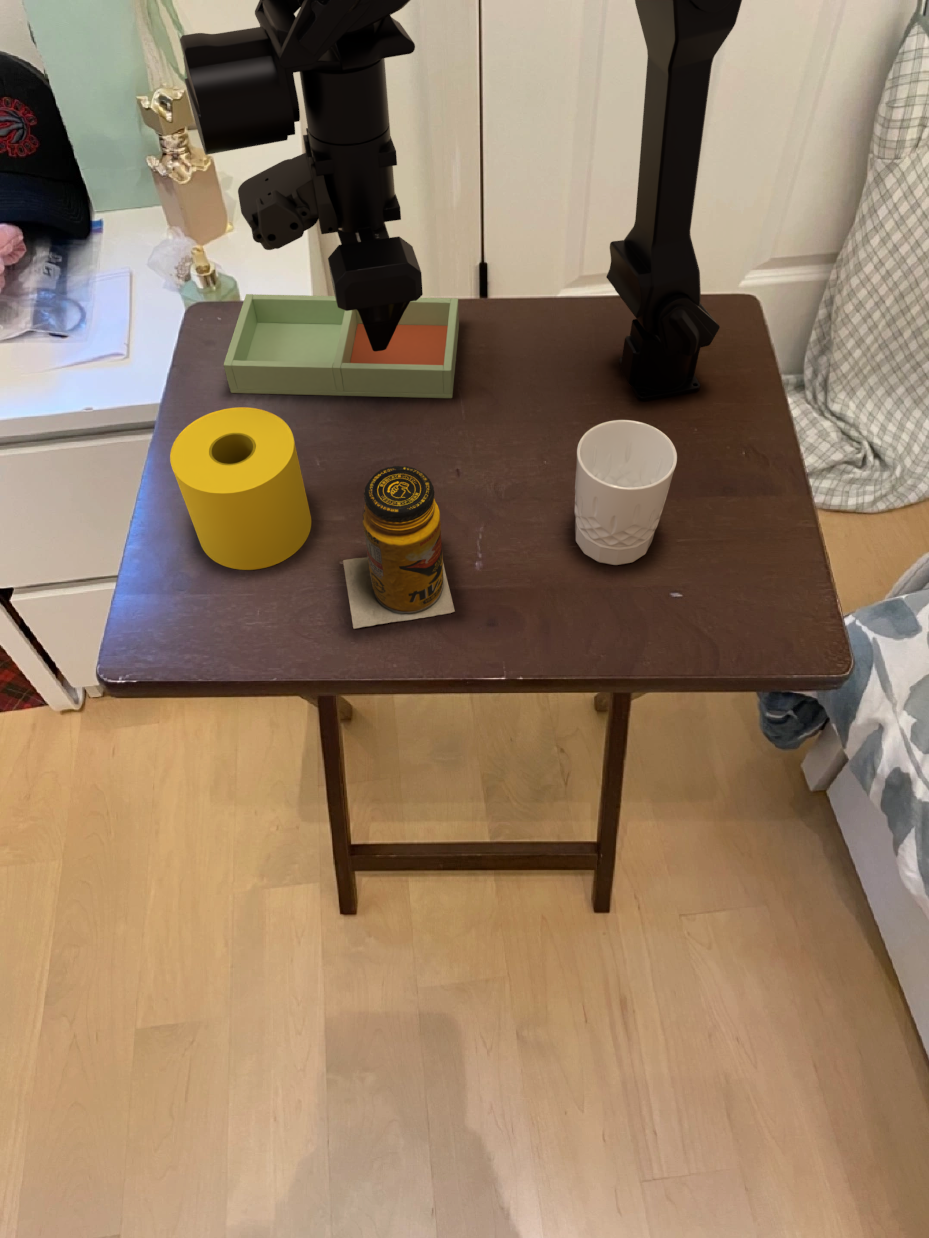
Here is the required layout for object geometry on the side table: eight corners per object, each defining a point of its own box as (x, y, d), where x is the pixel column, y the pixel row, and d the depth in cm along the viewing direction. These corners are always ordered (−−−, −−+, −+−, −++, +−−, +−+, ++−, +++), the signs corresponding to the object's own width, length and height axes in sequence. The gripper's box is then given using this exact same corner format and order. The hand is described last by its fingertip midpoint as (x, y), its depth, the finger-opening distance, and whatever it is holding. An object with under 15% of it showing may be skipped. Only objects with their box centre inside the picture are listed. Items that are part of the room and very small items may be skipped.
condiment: (455, 613, 78) (451, 514, 68) (353, 629, 77) (335, 532, 67) (439, 547, 82) (433, 446, 72) (343, 562, 81) (324, 462, 71)
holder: (458, 326, 100) (458, 298, 97) (452, 398, 93) (451, 370, 90) (252, 322, 101) (245, 294, 98) (230, 393, 94) (223, 365, 92)
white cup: (581, 578, 80) (592, 496, 71) (558, 511, 84) (565, 427, 76) (670, 563, 80) (691, 480, 72) (642, 497, 85) (658, 413, 77)
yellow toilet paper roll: (209, 486, 87) (182, 408, 79) (316, 485, 86) (300, 406, 79) (189, 570, 81) (159, 494, 73) (305, 569, 81) (286, 493, 73)
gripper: (222, 78, 70) (262, 266, 82) (244, 212, 59) (286, 404, 71) (370, 61, 71) (386, 248, 84) (417, 188, 60) (428, 381, 73)
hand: (369, 315), depth 78 cm, fingers open, 9 cm apart
